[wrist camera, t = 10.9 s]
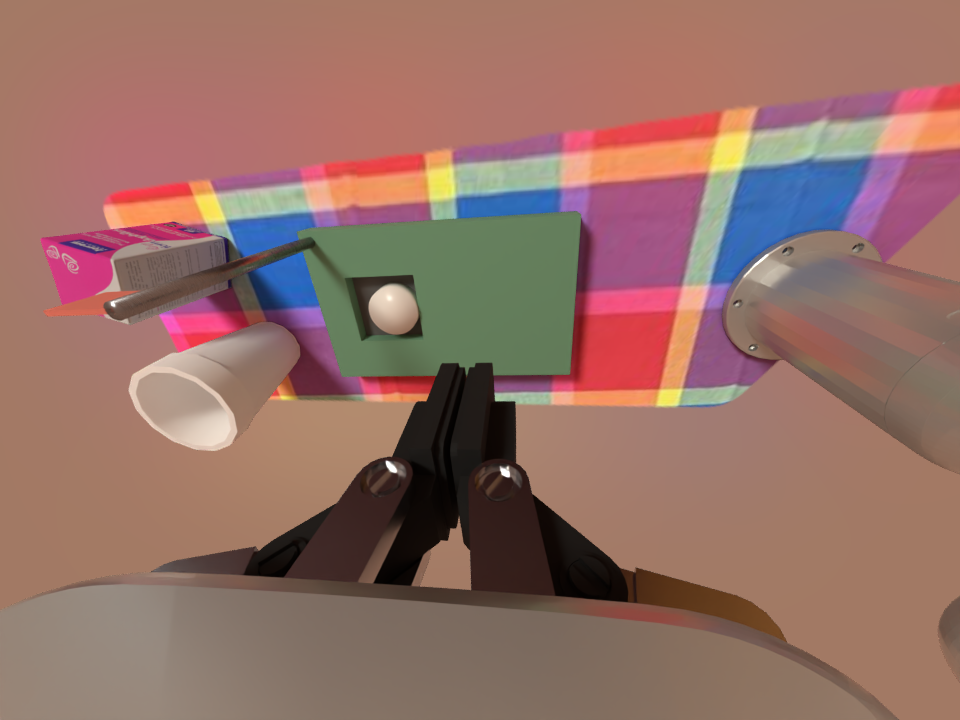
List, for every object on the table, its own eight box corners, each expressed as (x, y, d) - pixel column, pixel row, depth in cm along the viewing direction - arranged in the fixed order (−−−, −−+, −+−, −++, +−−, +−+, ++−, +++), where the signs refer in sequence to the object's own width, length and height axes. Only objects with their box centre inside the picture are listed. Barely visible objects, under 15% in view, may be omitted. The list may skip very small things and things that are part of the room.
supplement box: (228, 235, 35) (114, 261, 25) (233, 288, 38) (132, 330, 28) (172, 218, 35) (34, 237, 25) (181, 272, 38) (61, 309, 28)
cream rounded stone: (415, 279, 34) (410, 285, 33) (426, 324, 37) (422, 332, 35) (369, 284, 35) (362, 291, 33) (383, 328, 38) (376, 336, 36)
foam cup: (313, 385, 44) (243, 460, 32) (243, 369, 44) (147, 438, 32) (310, 318, 39) (226, 379, 28) (231, 300, 39) (114, 354, 28)
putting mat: (576, 211, 31) (657, 267, 13) (566, 363, 39) (609, 527, 21) (283, 229, 34) (30, 294, 16) (328, 366, 42) (189, 510, 24)
